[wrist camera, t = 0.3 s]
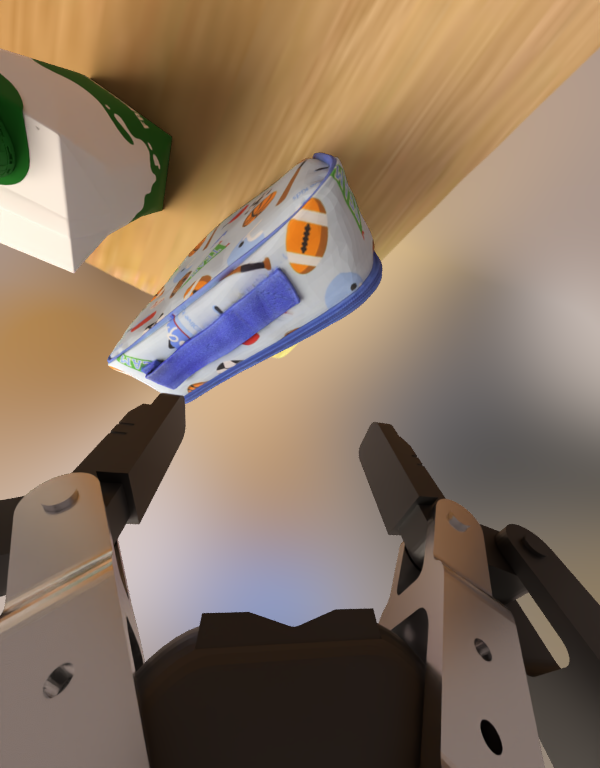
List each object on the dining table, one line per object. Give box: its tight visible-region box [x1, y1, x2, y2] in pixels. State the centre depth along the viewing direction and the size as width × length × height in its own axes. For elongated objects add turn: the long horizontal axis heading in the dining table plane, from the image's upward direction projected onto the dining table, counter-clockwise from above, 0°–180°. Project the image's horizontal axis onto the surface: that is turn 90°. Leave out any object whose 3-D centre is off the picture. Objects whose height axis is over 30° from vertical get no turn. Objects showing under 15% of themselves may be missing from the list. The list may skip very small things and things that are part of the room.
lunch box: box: [107, 152, 382, 404], centre depth 24 cm, size 28×10×22 cm, turn 124°
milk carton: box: [0, 49, 172, 273], centre depth 17 cm, size 9×9×20 cm
